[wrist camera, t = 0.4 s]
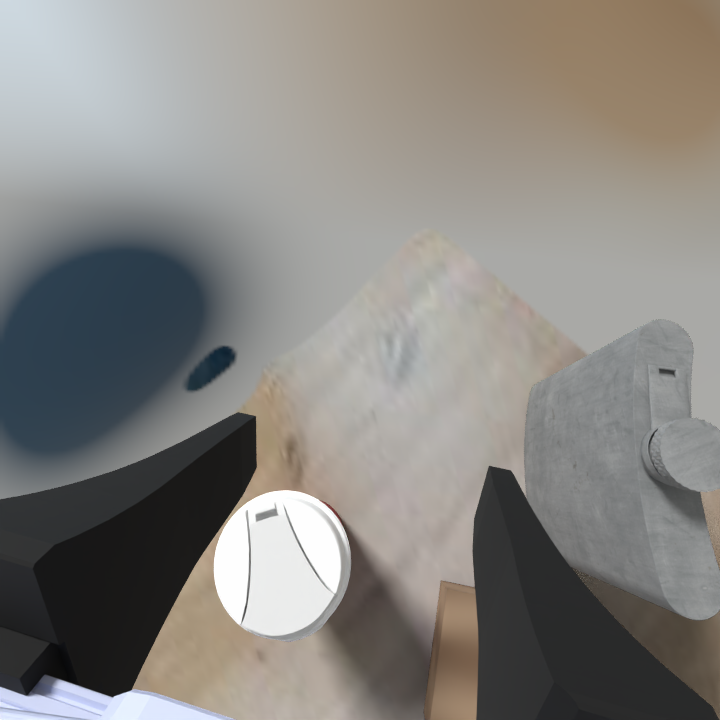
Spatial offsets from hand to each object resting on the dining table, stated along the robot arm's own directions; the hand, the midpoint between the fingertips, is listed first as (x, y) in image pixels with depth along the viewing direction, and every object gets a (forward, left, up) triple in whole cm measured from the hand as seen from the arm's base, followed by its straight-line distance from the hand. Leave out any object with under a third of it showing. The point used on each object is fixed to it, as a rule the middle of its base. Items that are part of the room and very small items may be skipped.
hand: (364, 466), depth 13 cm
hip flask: (+4, -16, -29) cm, 33 cm away
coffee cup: (-6, +4, -29) cm, 30 cm away
